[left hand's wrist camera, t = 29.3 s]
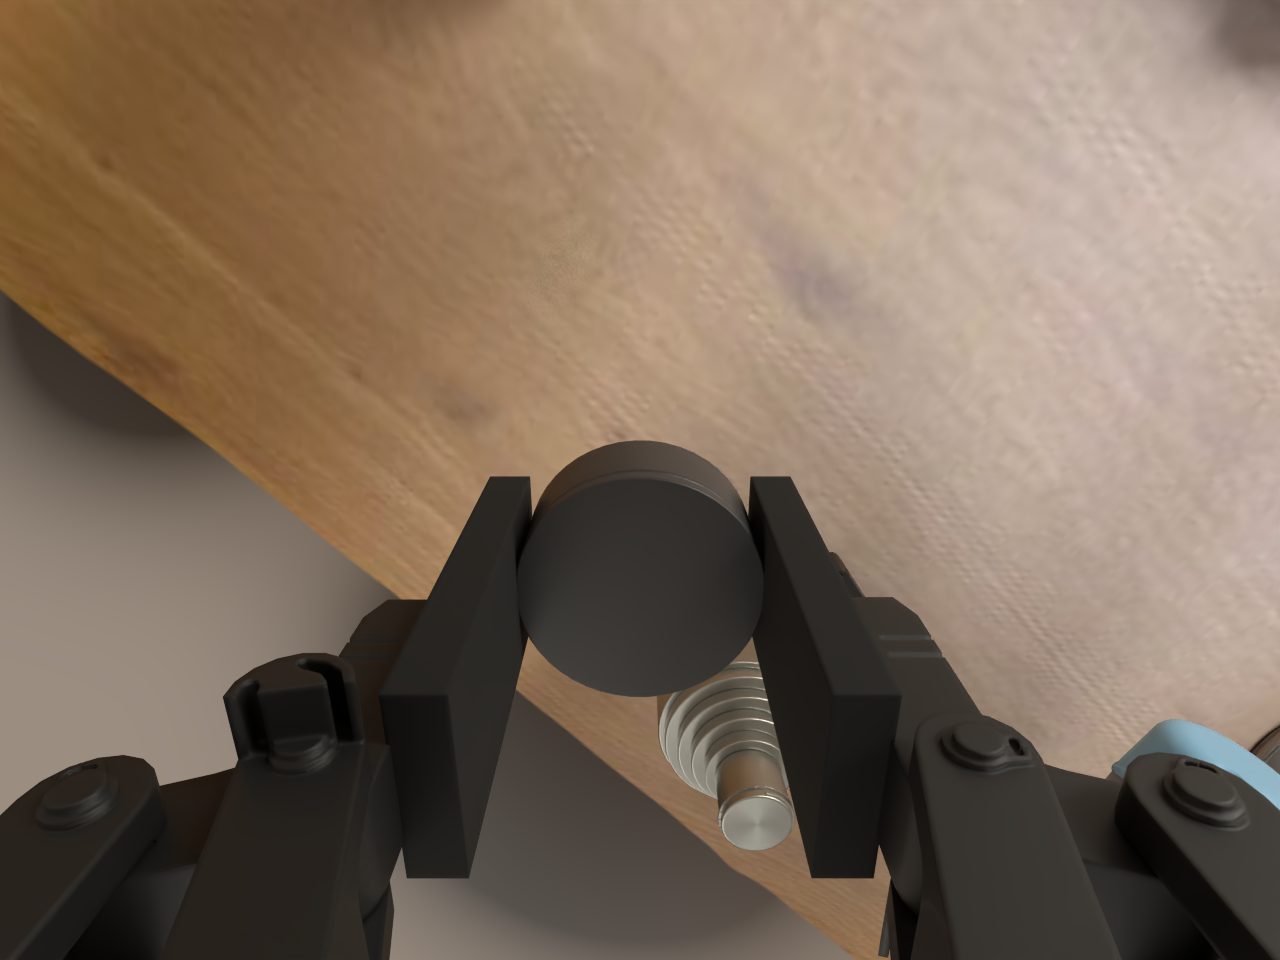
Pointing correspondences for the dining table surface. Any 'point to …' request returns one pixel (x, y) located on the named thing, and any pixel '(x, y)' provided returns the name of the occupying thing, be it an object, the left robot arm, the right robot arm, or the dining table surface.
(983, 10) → the dining table surface
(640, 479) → the cap
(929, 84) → the dining table surface
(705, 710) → the bottle
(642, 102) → the dining table surface
